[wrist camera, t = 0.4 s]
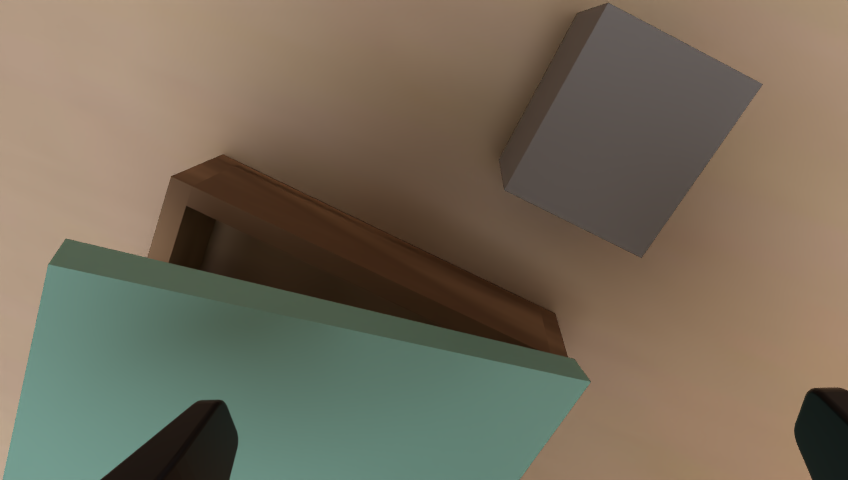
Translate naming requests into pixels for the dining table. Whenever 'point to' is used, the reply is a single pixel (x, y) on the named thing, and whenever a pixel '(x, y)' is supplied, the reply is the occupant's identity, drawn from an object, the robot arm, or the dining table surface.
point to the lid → (270, 380)
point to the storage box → (330, 256)
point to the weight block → (621, 127)
